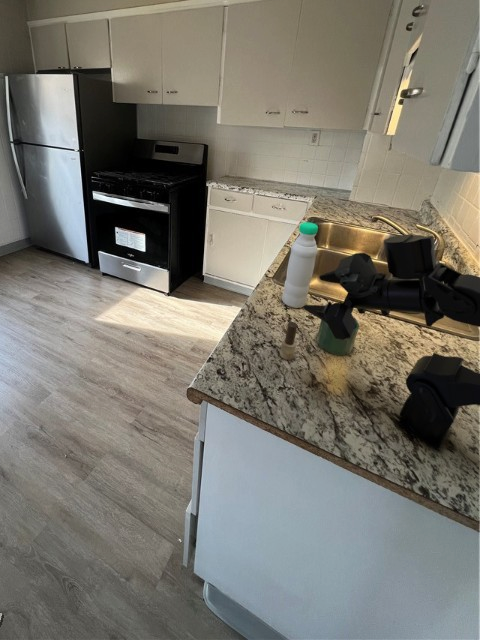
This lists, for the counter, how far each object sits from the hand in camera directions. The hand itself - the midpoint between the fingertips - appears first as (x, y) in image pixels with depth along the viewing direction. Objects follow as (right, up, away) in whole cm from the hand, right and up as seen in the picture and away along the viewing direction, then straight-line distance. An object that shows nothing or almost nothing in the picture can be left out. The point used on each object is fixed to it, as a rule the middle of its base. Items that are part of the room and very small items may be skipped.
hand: (312, 292), depth 68 cm
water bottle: (+5, -6, +27) cm, 28 cm away
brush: (-4, -16, +6) cm, 17 cm away
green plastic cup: (+10, -14, +11) cm, 20 cm away
